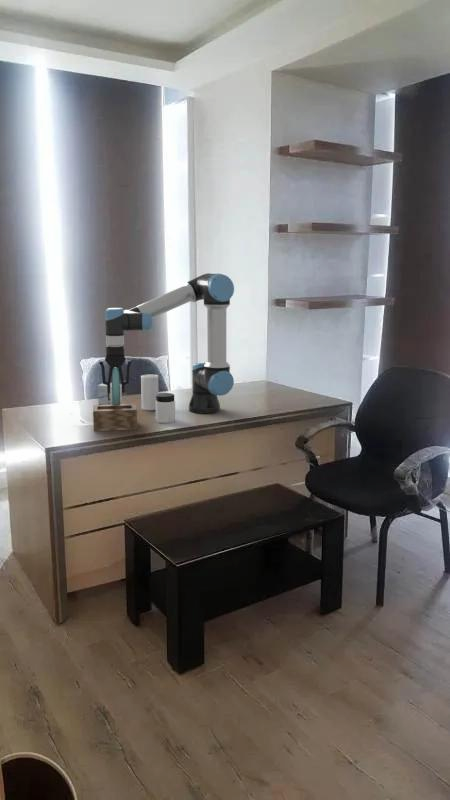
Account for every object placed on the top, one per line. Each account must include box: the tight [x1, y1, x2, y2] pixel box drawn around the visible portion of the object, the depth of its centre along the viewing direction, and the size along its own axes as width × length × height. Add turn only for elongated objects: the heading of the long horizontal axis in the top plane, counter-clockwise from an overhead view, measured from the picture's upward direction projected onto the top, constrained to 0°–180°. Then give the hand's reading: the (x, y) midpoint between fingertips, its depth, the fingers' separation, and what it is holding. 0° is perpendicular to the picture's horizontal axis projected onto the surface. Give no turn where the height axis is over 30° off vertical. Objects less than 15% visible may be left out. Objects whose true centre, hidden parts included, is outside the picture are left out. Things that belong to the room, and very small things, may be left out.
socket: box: [92, 403, 138, 432], centre depth 263 cm, size 18×12×8 cm, turn 102°
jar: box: [155, 392, 176, 424], centre depth 273 cm, size 9×8×12 cm
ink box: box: [97, 382, 112, 405], centre depth 297 cm, size 9×5×12 cm, turn 168°
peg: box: [111, 367, 121, 406], centre depth 260 cm, size 3×3×16 cm
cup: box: [140, 373, 159, 411], centre depth 297 cm, size 8×8×16 cm
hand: (116, 400), depth 261 cm, fingers closed on peg, 3 cm apart
